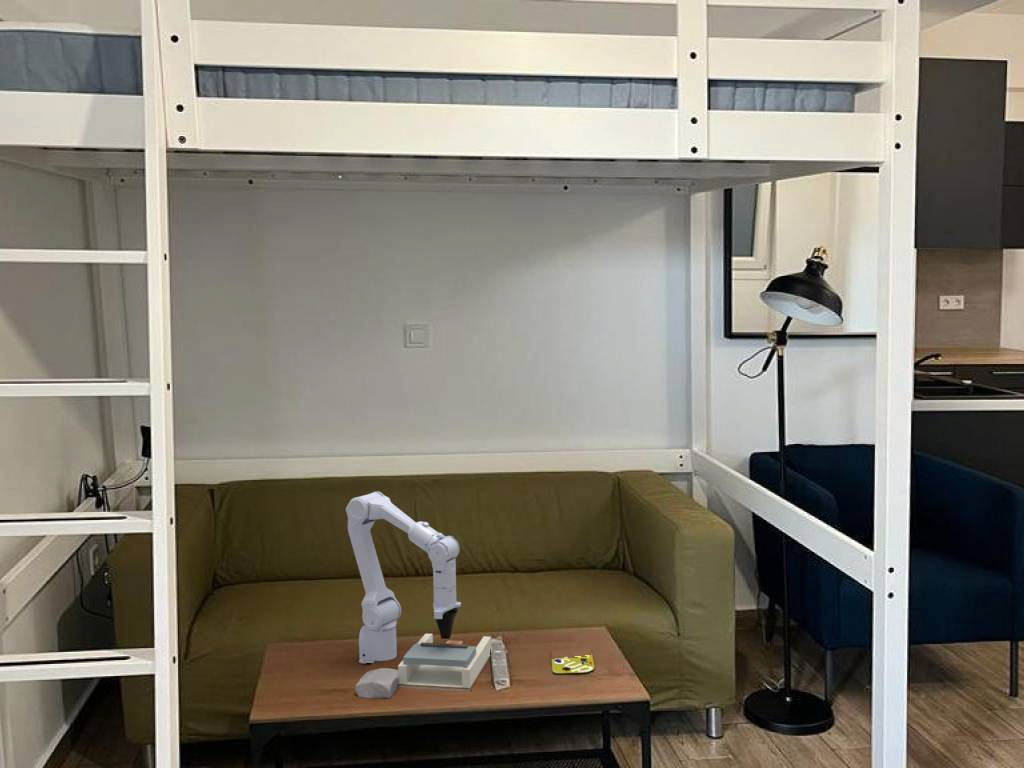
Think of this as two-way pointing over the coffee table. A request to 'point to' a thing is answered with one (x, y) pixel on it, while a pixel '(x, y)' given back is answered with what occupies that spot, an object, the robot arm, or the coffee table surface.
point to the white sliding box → (445, 670)
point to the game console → (573, 665)
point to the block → (454, 642)
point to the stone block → (378, 683)
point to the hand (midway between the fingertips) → (445, 638)
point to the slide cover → (440, 654)
